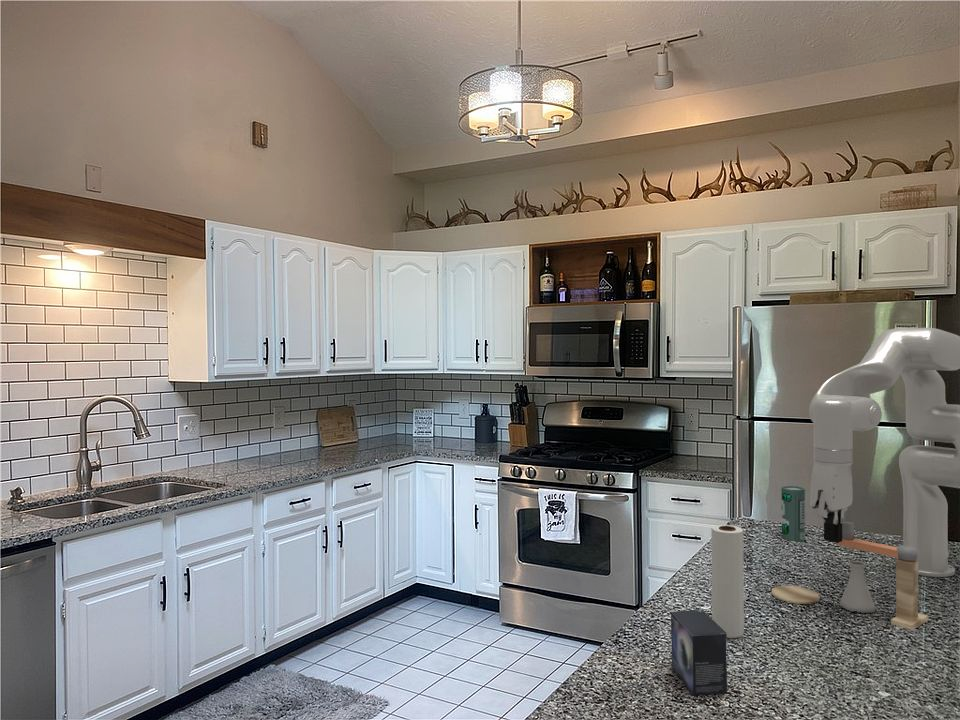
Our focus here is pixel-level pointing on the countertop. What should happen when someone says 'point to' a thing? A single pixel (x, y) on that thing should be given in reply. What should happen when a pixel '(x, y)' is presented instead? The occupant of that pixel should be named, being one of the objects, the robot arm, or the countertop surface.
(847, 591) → the flask
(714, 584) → the paper towel roll
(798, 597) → the coaster
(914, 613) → the post
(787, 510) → the can
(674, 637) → the small box
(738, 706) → the countertop surface
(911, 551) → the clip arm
